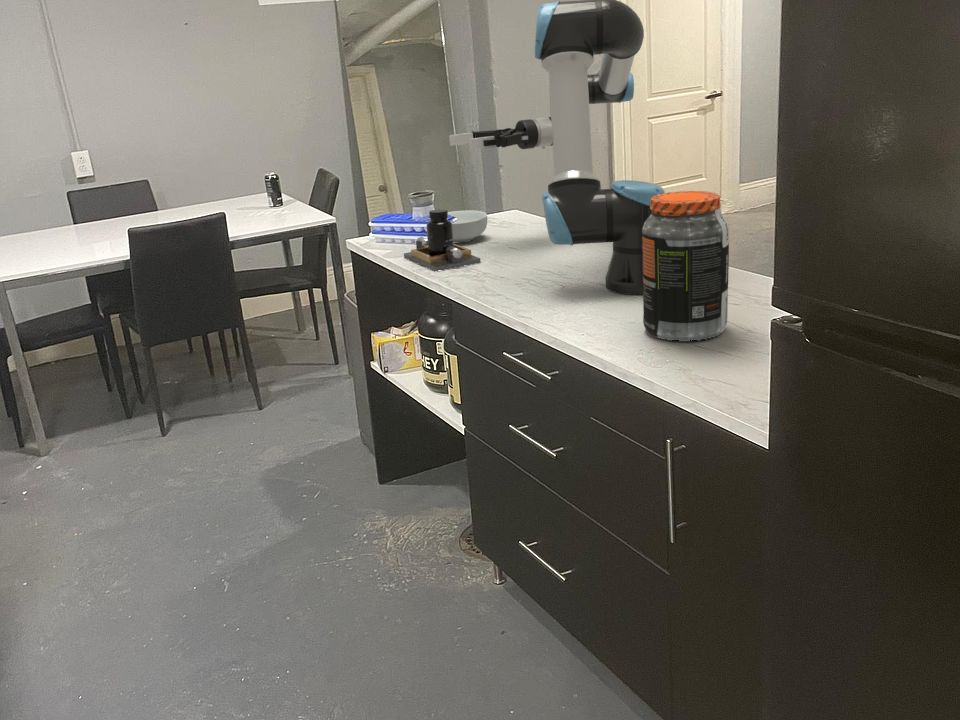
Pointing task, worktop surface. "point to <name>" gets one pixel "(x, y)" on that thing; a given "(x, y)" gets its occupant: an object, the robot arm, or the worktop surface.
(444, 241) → the supplement bottle
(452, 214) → the cereal bowl
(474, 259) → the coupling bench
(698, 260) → the supplement tub
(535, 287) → the worktop surface
